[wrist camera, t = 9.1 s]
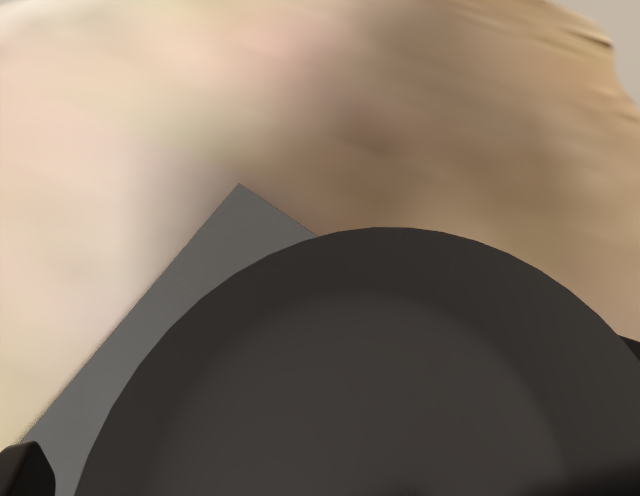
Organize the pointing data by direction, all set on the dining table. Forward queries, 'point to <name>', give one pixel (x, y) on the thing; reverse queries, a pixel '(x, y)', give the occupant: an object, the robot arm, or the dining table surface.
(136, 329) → the lens mount
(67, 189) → the dining table surface
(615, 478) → the lens
